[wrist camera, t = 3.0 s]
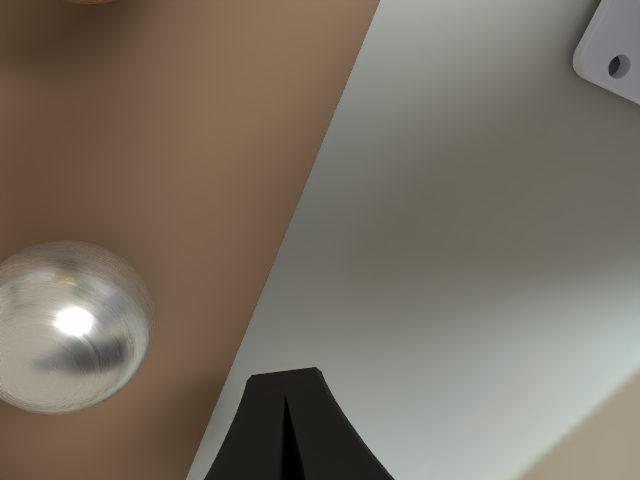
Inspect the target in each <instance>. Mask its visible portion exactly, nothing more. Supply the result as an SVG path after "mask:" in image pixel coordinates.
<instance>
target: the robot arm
mask: <svg viewBox="0 0 640 480" xmlns="http://www.w3.org/2000/svg"><path fill="white" fill-rule="evenodd" d="M616 56H618V57H619V60H620V66H619V69H618V71H617V72H616V73H615V74H614V75H612V76H610V75H609V71H608V67H609V64H610V62H611V61H612V59H613V58H614V57H616ZM573 67H574V69H575V72H576V74H578V75H579V76H580V77H581V78H583V79H585V80H587V81H590V82H592V83H594V84H596V85H598V86H600V87H602V88H604V89H607V90H609V91H611V92H613V93H615V94H617V95H619V96H621V97H624V98H626V99H628V100H630V101H632V102H634V103H636V104H638V105H640V0H602V1H601V3H600V4H599V6H598V8H597V10H596V12H595V14H594V16H593V18H592V19H591V21H590V23H589V25H588V27H587V29H586V31H585V33H584V34H583V36H582V38H581V40H580V42H579V44H578V46H577V48H576V50H575V53H574V56H573ZM204 480H395V479H394V478H393V477H392V476H391V475H390V474H389V473H388V471H387V470H386V469H385V468H384V467H383V465H382V464H381V463H380V462H379V461H378V459H377V458H376V457H375V456H374V454H373V453H372V452H371V451H370V449H369V448H368V447H367V445H366V444H365V443H364V441H363V440H362V439H361V437H360V436H359V435H358V433H357V432H356V430H355V429H354V428H353V426H352V425H351V423H350V422H349V421H348V419H347V418H346V416H345V415H344V413H343V412H342V410H341V408H340V407H339V405H338V403H337V402H336V400H335V399H334V397H333V395H332V393H331V391H330V390H329V388H328V386H327V384H326V382H325V379H324V377H323V375H322V372H321V371H320V370H319V369H317V368H316V367H312V368H304V369H296V370H288V371H280V372H272V373H264V374H257V375H252V376H251V377H250V378H249V379H248V380H247V383H246V387H245V390H244V393H243V396H242V399H241V402H240V405H239V407H238V410H237V412H236V415H235V417H234V420H233V422H232V424H231V427H230V429H229V431H228V433H227V435H226V437H225V440H224V442H223V444H222V446H221V448H220V450H219V452H218V454H217V456H216V458H215V460H214V462H213V464H212V466H211V468H210V470H209V471H208V473H207V475H206V477H205V479H204Z"/></svg>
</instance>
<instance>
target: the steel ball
mask: <svg viewBox="0 0 640 480" xmlns="http://www.w3.org/2000/svg"><path fill="white" fill-rule="evenodd" d="M154 333H155V311H154V306H153V301H152V298H151V296H150V293H149V290H148V288H147V286H146V284H145V282H144V281H143V279H142V278H141V276H140V275H139V274H138V272H137V271H136V270H135V269H134V268H133V267H132V266H131V265H130V264H129V263H128V262H126V261H125V260H124V259H123V258H121V257H120V256H118V255H117V254H115V253H114V252H112V251H109V250H107V249H105V248H103V247H100V246H97V245H94V244H90V243H86V242H80V241H53V242H46V243H42V244H38V245H34V246H32V247H29V248H26V249H24V250H22V251H20V252H18V253H16V254H14V255H12V256H10V257H9V258H8V259H6V260H5V261H3V262H2V263H1V264H0V399H1V400H3V401H4V402H6V403H8V404H9V405H11V406H13V407H16V408H18V409H21V410H24V411H28V412H31V413H37V414H46V415H64V414H72V413H76V412H80V411H84V410H87V409H90V408H93V407H95V406H97V405H99V404H102V403H104V402H105V401H107V400H109V399H110V398H112V397H113V396H115V395H116V394H118V393H119V392H120V391H121V390H122V389H124V388H125V387H126V386H127V385H128V384H129V383H130V382H131V381H132V380H133V379H134V377H135V376H136V375H137V374H138V372H139V371H140V369H141V368H142V366H143V365H144V363H145V361H146V359H147V356H148V354H149V352H150V349H151V346H152V342H153V338H154Z"/></svg>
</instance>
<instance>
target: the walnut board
mask: <svg viewBox="0 0 640 480" xmlns="http://www.w3.org/2000/svg"><path fill="white" fill-rule="evenodd" d="M379 2H380V0H115V1H110V2H106V3H98V4H81V3H73V2H68V1H63V0H0V264H1V263H2V262H3V261H5V260H6V259H8V258H9V257H10V256H12V255H14V254H16V253H18V252H20V251H22V250H24V249H26V248H29V247H32V246H34V245H38V244H42V243H46V242H53V241H80V242H86V243H90V244H94V245H97V246H100V247H103V248H105V249H107V250H109V251H112V252H114V253H115V254H117V255H118V256H120V257H121V258H123V259H124V260H125V261H126V262H128V263H129V264H130V265H131V266H132V267H133V268H134V269H135V270H136V271H137V272H138V274H139V275H140V276H141V278H142V279H143V281H144V282H145V284H146V286H147V288H148V290H149V293H150V296H151V298H152V301H153V306H154V311H155V333H154V338H153V342H152V346H151V349H150V352H149V354H148V356H147V359H146V361H145V363H144V365H143V366H142V368H141V369H140V371H139V372H138V374H137V375H136V376H135V377H134V379H133V380H132V381H131V382H130V383H129V384H128V385H127V386H126V387H125V388H124V389H122V390H121V391H120V392H119V393H118V394H116V395H115V396H113V397H112V398H110V399H109V400H107V401H105V402H104V403H102V404H99V405H97V406H95V407H93V408H90V409H87V410H84V411H80V412H76V413H72V414H64V415H46V414H37V413H31V412H28V411H24V410H21V409H18V408H16V407H13V406H11V405H9V404H8V403H6V402H4V401H3V400H1V399H0V480H186V477H187V475H188V472H189V470H190V467H191V465H192V462H193V460H194V457H195V455H196V452H197V450H198V448H199V445H200V443H201V440H202V438H203V435H204V433H205V430H206V428H207V425H208V423H209V420H210V418H211V416H212V413H213V411H214V408H215V406H216V403H217V401H218V398H219V396H220V393H221V391H222V388H223V386H224V384H225V381H226V379H227V376H228V374H229V371H230V369H231V366H232V364H233V361H234V359H235V356H236V354H237V351H238V349H239V347H240V344H241V342H242V339H243V337H244V334H245V332H246V329H247V327H248V324H249V322H250V319H251V317H252V315H253V312H254V310H255V307H256V305H257V302H258V300H259V297H260V295H261V292H262V290H263V287H264V285H265V283H266V280H267V278H268V275H269V273H270V270H271V268H272V265H273V263H274V260H275V258H276V255H277V253H278V250H279V248H280V246H281V243H282V241H283V238H284V236H285V233H286V231H287V228H288V226H289V223H290V221H291V218H292V216H293V214H294V211H295V209H296V206H297V204H298V201H299V199H300V196H301V194H302V191H303V189H304V186H305V184H306V182H307V179H308V177H309V174H310V172H311V169H312V167H313V164H314V162H315V159H316V157H317V154H318V152H319V149H320V147H321V145H322V142H323V140H324V137H325V135H326V132H327V130H328V127H329V125H330V122H331V120H332V117H333V115H334V113H335V110H336V108H337V105H338V103H339V100H340V98H341V95H342V93H343V90H344V88H345V85H346V83H347V80H348V78H349V76H350V73H351V71H352V68H353V66H354V63H355V61H356V58H357V56H358V53H359V51H360V48H361V46H362V44H363V41H364V39H365V36H366V34H367V31H368V29H369V26H370V24H371V21H372V19H373V16H374V14H375V12H376V9H377V7H378V4H379Z"/></svg>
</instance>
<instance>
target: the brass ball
mask: <svg viewBox="0 0 640 480" xmlns="http://www.w3.org/2000/svg"><path fill="white" fill-rule="evenodd" d="M63 1H68V2H73V3H81V4H98V3H106V2H110V1H115V0H63Z"/></svg>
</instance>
